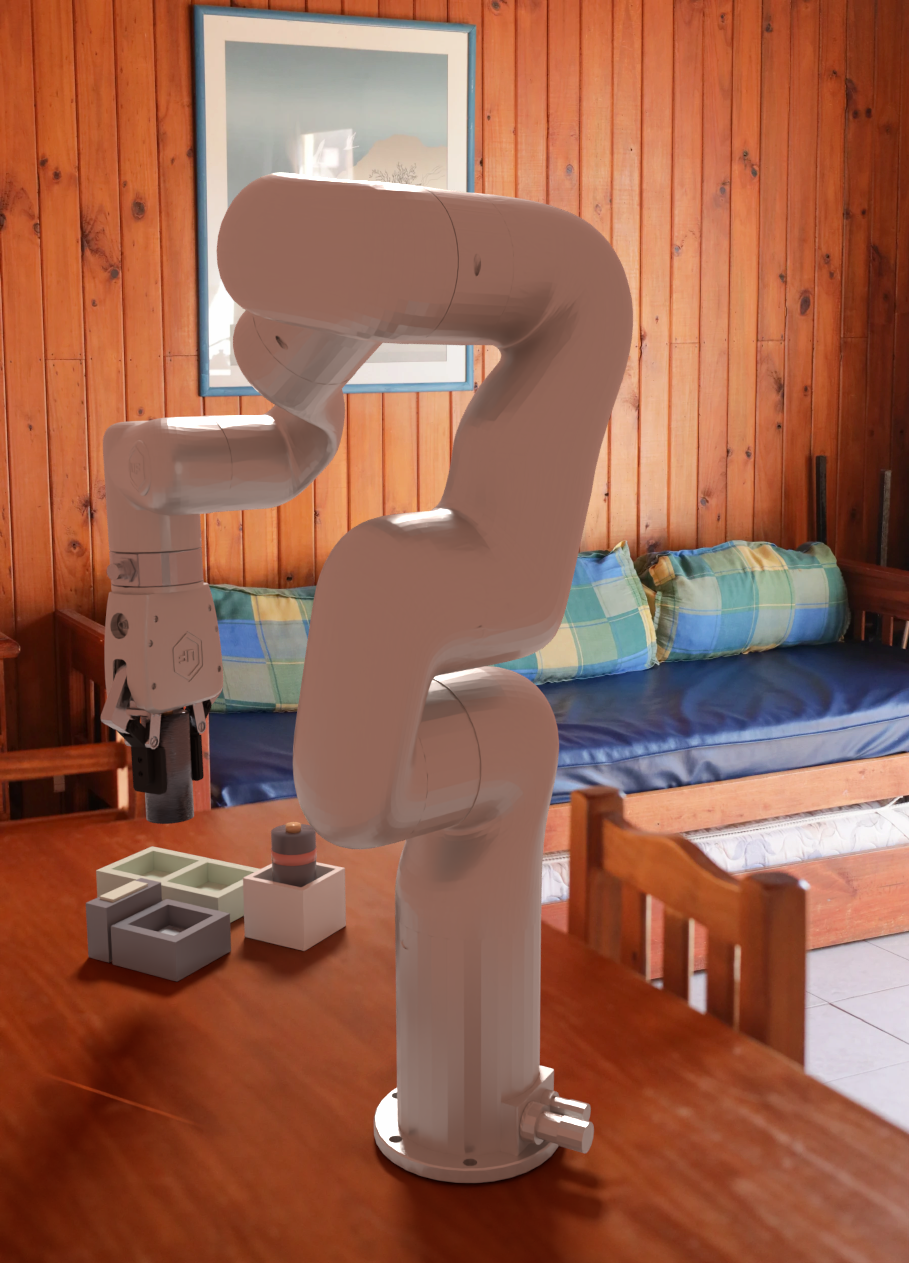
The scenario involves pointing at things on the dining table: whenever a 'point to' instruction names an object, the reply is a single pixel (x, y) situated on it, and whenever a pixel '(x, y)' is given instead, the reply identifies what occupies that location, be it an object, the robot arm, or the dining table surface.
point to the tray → (181, 878)
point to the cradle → (154, 931)
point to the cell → (173, 771)
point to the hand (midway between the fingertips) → (169, 783)
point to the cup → (294, 892)
